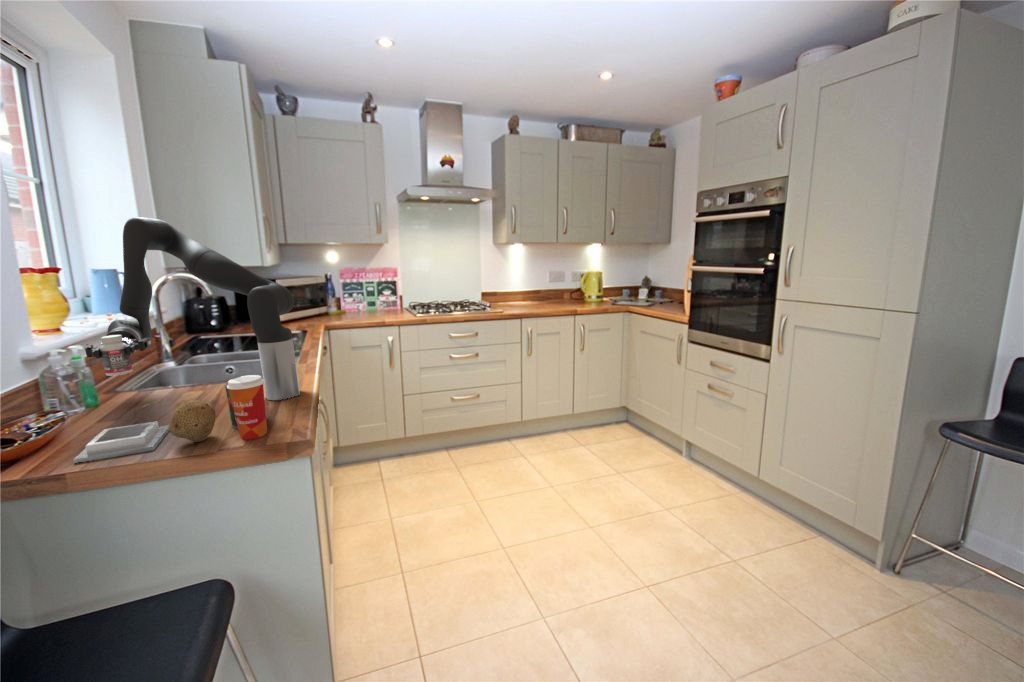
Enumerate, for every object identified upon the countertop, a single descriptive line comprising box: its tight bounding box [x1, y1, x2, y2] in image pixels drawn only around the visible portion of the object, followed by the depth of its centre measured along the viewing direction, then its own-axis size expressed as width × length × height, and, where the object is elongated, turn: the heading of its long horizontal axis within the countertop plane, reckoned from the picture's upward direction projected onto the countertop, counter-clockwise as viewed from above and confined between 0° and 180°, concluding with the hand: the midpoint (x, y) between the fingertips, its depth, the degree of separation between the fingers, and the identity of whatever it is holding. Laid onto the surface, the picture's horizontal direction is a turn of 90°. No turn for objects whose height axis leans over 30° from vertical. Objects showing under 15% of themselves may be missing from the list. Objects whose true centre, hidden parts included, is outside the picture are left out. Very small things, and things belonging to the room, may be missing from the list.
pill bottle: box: [100, 335, 134, 377], centre depth 117 cm, size 5×5×10 cm
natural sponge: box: [168, 399, 217, 443], centre depth 106 cm, size 9×9×10 cm
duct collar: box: [72, 420, 170, 464], centre depth 107 cm, size 14×14×3 cm
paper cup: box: [227, 374, 268, 441], centre depth 109 cm, size 8×8×14 cm
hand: (113, 352), depth 115 cm, fingers closed on pill bottle, 5 cm apart
